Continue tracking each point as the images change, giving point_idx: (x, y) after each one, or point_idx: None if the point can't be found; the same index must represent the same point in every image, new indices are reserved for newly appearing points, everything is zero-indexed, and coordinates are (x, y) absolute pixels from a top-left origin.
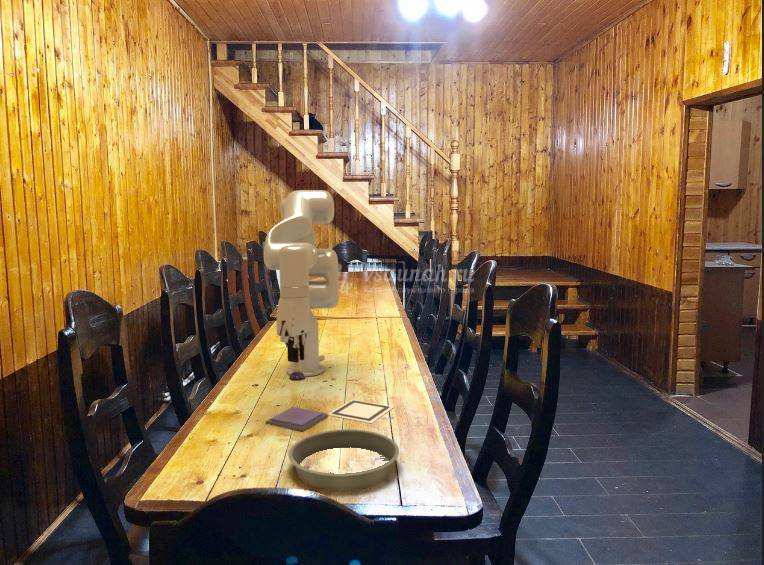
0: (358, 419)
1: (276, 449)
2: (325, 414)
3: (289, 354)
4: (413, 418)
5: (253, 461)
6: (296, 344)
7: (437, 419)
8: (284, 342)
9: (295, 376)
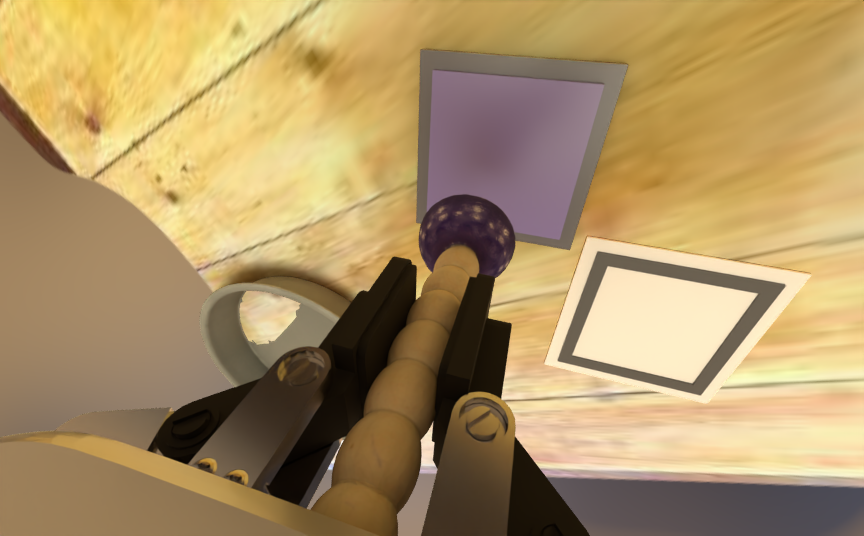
0: (562, 333)
1: (293, 201)
2: (563, 243)
3: (345, 319)
4: (610, 436)
5: (219, 181)
6: (325, 454)
7: (613, 471)
8: (160, 419)
9: (422, 257)
